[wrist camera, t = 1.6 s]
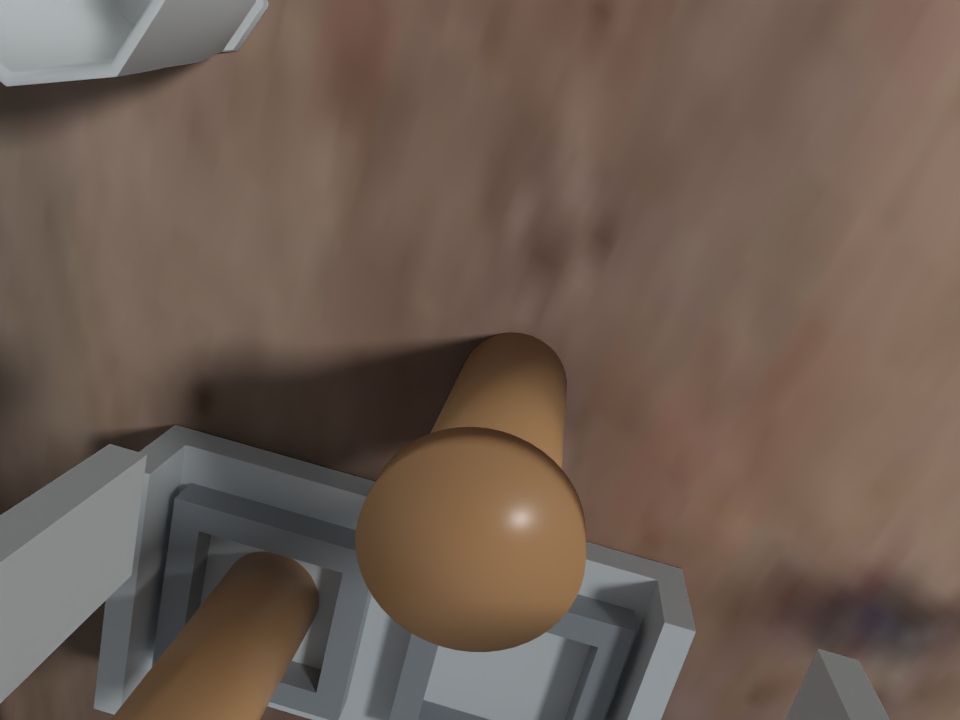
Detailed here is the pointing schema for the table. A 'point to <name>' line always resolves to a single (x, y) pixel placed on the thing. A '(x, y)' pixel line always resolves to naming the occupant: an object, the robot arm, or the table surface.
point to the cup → (116, 36)
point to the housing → (374, 604)
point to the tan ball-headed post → (480, 509)
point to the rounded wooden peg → (231, 646)
